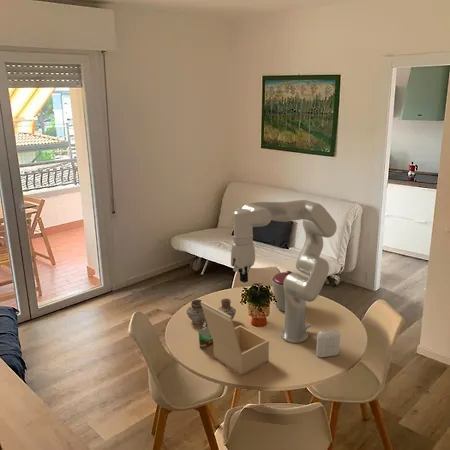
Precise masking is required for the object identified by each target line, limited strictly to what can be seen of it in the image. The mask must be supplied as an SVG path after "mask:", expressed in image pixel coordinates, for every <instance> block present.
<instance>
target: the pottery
mask: <svg viewBox="0 0 450 450" xmlns="http://www.w3.org/2000/svg"><path fill="white" fill-rule="evenodd" d="M201 301H203V300H201V299H194V300H192V301H191V304H190V305H191V306H189V307H188V308H187V309H186V314H187V317H188V318H189V319H190V320H191V322H192V323H193V324H196V325H200V324H203V322H204V320H205V315H204V312H203V309H202V306H201ZM220 303H221V306H219V307H218V308H217V309H218V310H220V311H222V312H224V313H226V314H228V315H230V316H231V317H232V320H233V319H234V317H235V315H236V311H237V309H236V308H235V307H233V306H232V305H231V303H232V299H230V298H222V299H221V300H220Z"/></svg>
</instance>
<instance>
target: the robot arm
mask: <svg viewBox="0 0 450 450" xmlns="http://www.w3.org/2000/svg"><path fill="white" fill-rule="evenodd" d="M241 207H242V208H241V209H237V210H235V211H233V243H232V244H231V245H232V246H231V253H230V266H231V267H233V268H232V271H233V272H235V273H236V272H237V273H239V281H240V282H242V283H244V284H245V283H248V282H249V274H248V273H249V272H250V269H251V267H253V266H254V264H255V262H256V249H255V244H254V240H253V239H254V236H255V235H254V234H253V233H254V232H253V228H255V227H256V228H258V227H259V228H260V227H265V226H267V225H269V224H271V221H275V222H280V223H281V222H283V223H287V222H294V221H300V220H301V221H302V226H303V229H304V232H305V233H304V234H305V241H304V244H303V246H302V249H301V251H300V253H299V255H298V256H297V260H296V262H295V268H296V269H297V270H298V271H299V272H301V273H302V274H300V275H299V273H297V274H296V272H293V273H291V274H288V275H287V276H286V277H285V279H284V291H285V311H284V329H283V330H282V331H281V333H280V335H281V338H282V339H283V340H284V341H286V342H288V343H293V344H299V343H304V342H305V341H307V340H308V337H309V334H308V332H307V330H308V329H309V328H311V326H312V325H311V324H310V323H306V315H307V314H306V313H307V310H306V309H307V302H314V301H315V300H316V299H317V298H318V296H319V295H320V293H321V291H322V290H323V289H322V288H323V286H324V284H325V283H326V280H327V278H328V276H329V273H330V265H329V262H328V261H327V260H326V258H325V259H324V258H322V257H321V254H322V251H323V248H324V238H332V237H333V236H334V235H335V234H336V233H337V227H338V226H337V223H336V221H335V219H334V217H332V216H331V214H330V213H329V211H328V210H327V209H326V208H325V207H324V206H323V205H322V204H320V203H319V202H314V201H312V200H311V201H310V200H307V199H300V200H291V201H290V200H289V201H256V202H249V203H246V204H245V205H243V206H241ZM303 274H305V275H307V276H309V277H306V276H303Z"/></svg>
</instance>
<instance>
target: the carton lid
mask: <svg viewBox="0 0 450 450" xmlns="http://www.w3.org/2000/svg"><path fill="white" fill-rule="evenodd" d="M201 306H202V309H203V312H204V315H205V318H206V321H207V325H208V328H209V331H210V334H211V338H212V339H214V340H215V341H217V342H219V343H220V344H222V345H224V346H225V347H227V348H229V349H230V350H232V351H233V352H235V353H237V354H238V355H240V356H241V355H242V353H241V350H240V346H239V342H238V339H237V335H236V331H235V328H236V327H235V324H234V322H233V319H232V317H231V316H230V315H228V314H226V313H224V312H222V311H220V310H218V308H217V307H214V306H213V305H211V304H208V303H207V302H205V301H204V300H202V301H201Z"/></svg>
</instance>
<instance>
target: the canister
mask: <svg viewBox="0 0 450 450" xmlns="http://www.w3.org/2000/svg"><path fill="white" fill-rule="evenodd" d="M291 273H294V272H292V271H291V270H287V271H285V272H284V271H283V272H278V273H276V274H274V275H273V276H271V282H272V288H273V289H272V290H273V297H274V296H275V299H276V301H277V303H275V302H274V305H275V307H276V308H277V309H278V310H279V311H281V312H285V291H284V279H285V277H286V276H287V275H288V274H291ZM295 273H296V272H295ZM296 274H299V273H296ZM299 275H301V274H299Z"/></svg>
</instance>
